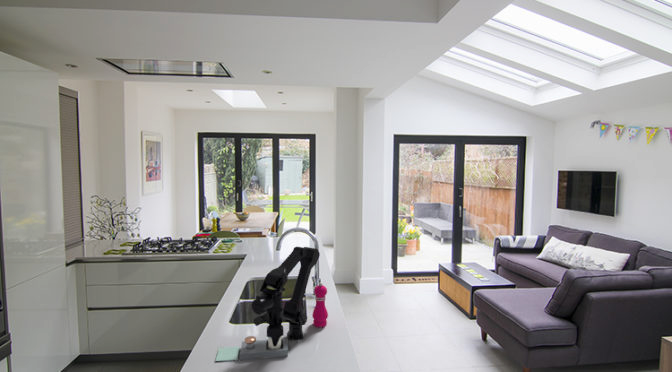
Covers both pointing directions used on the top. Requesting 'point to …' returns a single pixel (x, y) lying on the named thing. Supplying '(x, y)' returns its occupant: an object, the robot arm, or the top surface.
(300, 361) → the top surface
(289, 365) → the top surface
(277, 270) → the robot arm
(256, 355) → the housing
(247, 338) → the plunger
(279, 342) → the cylinder
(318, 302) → the pepper mill
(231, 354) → the mat
